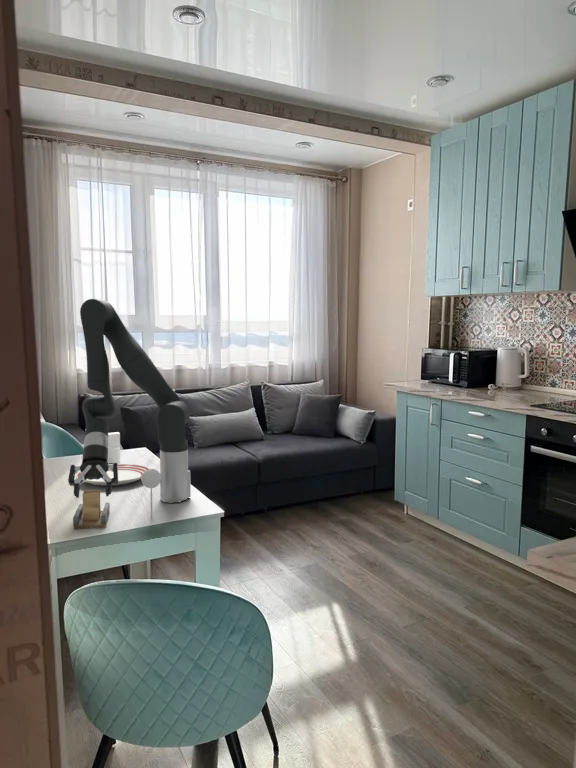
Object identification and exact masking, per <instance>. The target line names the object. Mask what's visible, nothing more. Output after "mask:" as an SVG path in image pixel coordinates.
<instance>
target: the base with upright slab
mask: <svg viewBox="0 0 576 768" xmlns="http://www.w3.org/2000/svg"><path fill="white" fill-rule="evenodd" d="M108 443H109V445H108V447H109V450H108V465H110V464H109V463H117V462H118V463H120V462H121V433H120V432H119V431H116V432H114V431H113V432H108ZM118 463H117V464H118Z"/></svg>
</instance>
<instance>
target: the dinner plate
mask: <svg viewBox="0 0 576 768" xmlns="http://www.w3.org/2000/svg"><path fill="white" fill-rule="evenodd" d="M109 465H113V464H109ZM117 466H118V483H117V484H115V483H114V484H112V486H113V487H115V486H123V485H128V484H132V483H134V482H136V481H138V480H139V481H140V480H141V476H142V474H143V473H144V472H145V471H146V470H148V469H151V468H150V467H148V466H146V465H142V464H136V463H135V464H134V463H117ZM81 473H82V472H81V471H80V470H79V471H78V472H77V474H75V478H76V479H77V478H78V477H79V475H80V474H81ZM106 473H107V475H108V476H109V477H110V478H111V479H112V478H114V477H113V472H111V470H110V469H109V470H108V471H107V472H106ZM84 483H87V484H91V485H94V484H95V485H94V486H99V485H101V486H100V487H106V482H105V481H104V480H103V479H102V478H100V479H92V480H89V479H87V480H86V481H85V482H84Z"/></svg>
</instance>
